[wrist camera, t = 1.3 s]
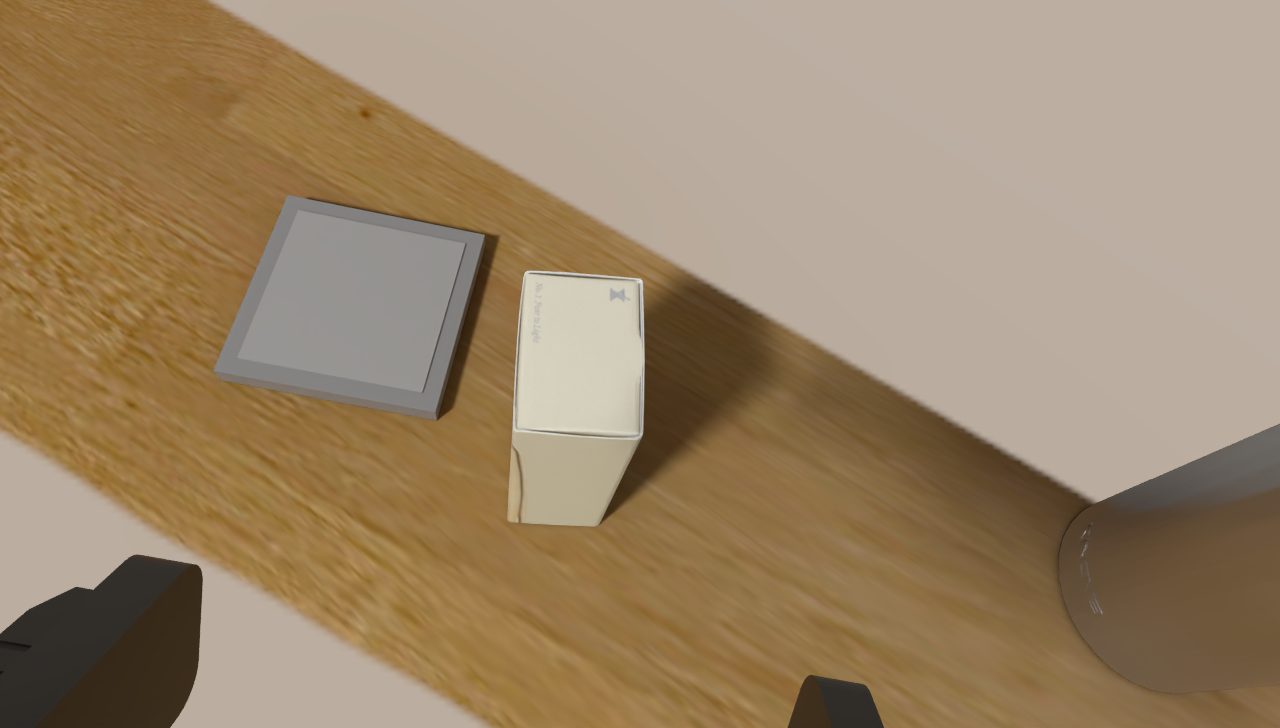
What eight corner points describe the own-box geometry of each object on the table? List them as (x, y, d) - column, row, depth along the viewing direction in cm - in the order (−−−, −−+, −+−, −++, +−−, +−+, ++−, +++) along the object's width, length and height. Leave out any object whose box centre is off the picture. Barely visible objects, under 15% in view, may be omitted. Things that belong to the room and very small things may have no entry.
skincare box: (516, 399, 39) (519, 262, 28) (608, 404, 40) (645, 271, 29) (506, 528, 37) (505, 430, 26) (605, 532, 37) (645, 438, 26)
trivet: (485, 245, 43) (484, 233, 42) (436, 420, 38) (434, 411, 37) (292, 206, 42) (287, 193, 41) (220, 380, 38) (212, 369, 37)
